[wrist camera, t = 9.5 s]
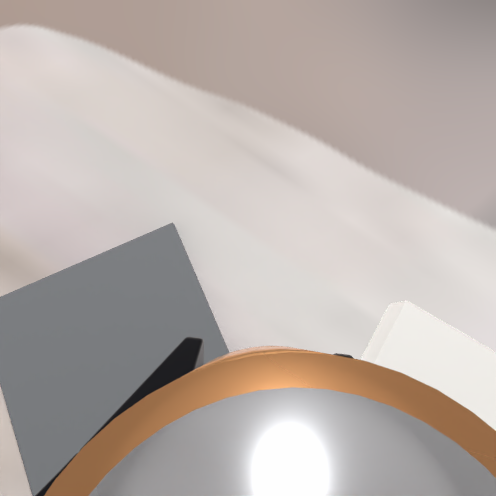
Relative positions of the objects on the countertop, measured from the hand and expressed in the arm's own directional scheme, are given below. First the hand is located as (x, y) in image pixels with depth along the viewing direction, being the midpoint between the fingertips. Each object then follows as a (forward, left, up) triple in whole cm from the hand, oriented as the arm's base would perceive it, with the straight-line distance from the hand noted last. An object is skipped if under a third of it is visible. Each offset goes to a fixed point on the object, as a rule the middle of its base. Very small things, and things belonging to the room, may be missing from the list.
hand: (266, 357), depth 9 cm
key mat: (+2, +8, -13) cm, 15 cm away
